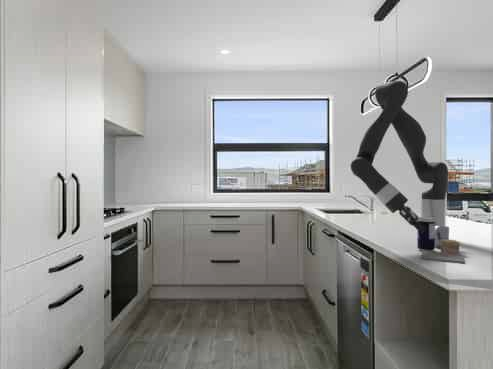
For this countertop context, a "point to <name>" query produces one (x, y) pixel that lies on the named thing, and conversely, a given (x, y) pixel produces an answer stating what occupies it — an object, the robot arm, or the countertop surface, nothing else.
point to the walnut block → (450, 246)
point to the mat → (442, 256)
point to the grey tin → (441, 235)
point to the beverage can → (426, 234)
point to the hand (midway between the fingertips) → (424, 230)
